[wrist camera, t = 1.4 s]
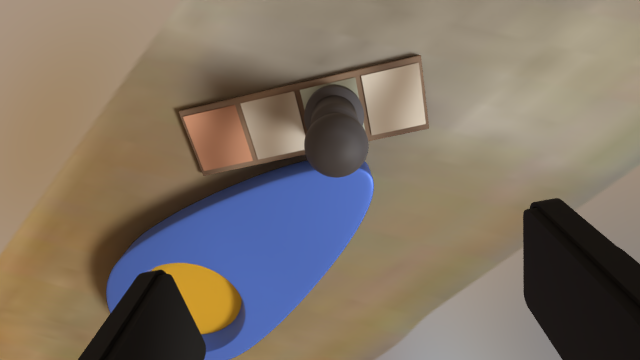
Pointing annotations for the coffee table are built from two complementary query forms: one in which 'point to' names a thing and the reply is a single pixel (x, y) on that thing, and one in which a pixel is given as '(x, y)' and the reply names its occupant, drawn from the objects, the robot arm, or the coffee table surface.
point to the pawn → (335, 131)
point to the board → (302, 115)
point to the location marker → (250, 251)
